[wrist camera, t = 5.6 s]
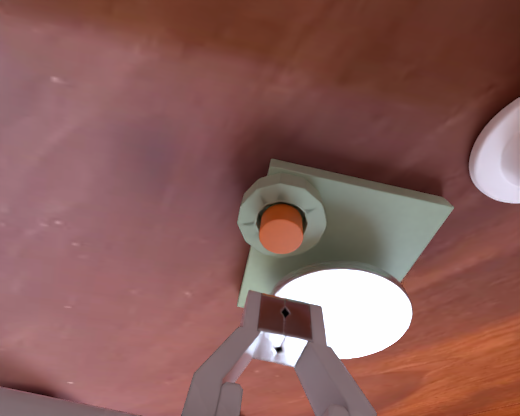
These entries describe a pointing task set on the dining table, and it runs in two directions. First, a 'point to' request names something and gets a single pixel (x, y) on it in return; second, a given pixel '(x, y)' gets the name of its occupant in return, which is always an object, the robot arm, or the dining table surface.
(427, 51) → the dining table surface
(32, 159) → the dining table surface
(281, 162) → the scale
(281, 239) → the tare button
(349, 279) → the pan
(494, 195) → the candle
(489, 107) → the dining table surface
